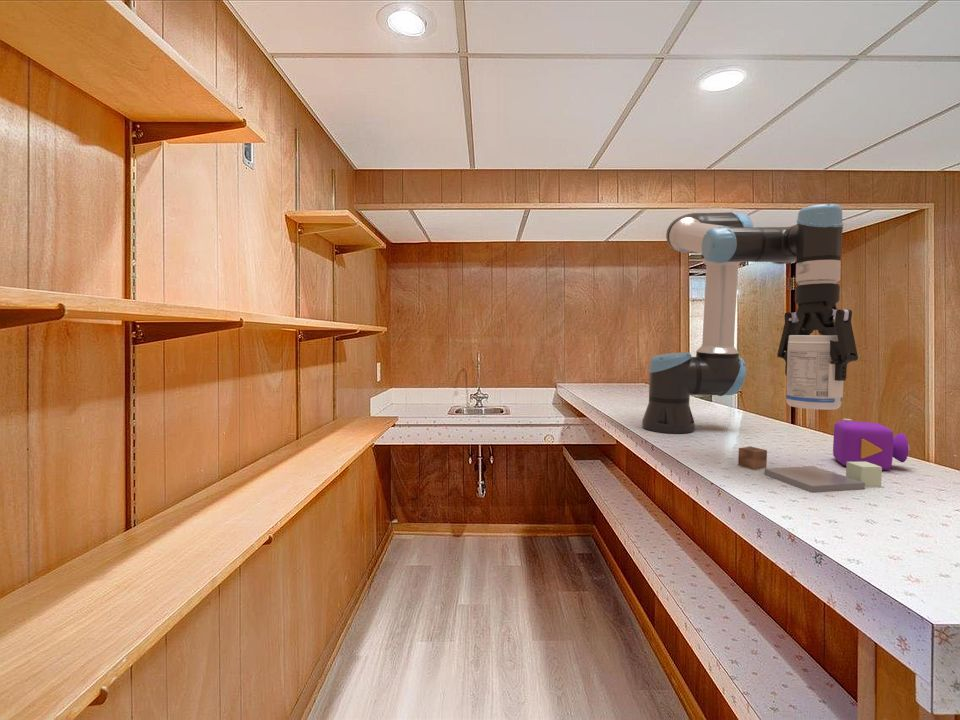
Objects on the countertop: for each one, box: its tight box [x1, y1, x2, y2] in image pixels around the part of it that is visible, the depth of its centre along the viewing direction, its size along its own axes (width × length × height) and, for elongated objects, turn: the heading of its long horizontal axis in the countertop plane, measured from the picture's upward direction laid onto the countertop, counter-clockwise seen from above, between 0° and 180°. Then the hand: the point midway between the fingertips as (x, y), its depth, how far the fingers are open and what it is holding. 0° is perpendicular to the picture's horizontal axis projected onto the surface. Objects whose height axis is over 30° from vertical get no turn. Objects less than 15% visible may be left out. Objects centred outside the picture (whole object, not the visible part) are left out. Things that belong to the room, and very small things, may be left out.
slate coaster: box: [763, 465, 866, 493], centre depth 102 cm, size 12×12×1 cm
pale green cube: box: [845, 462, 883, 488], centre depth 101 cm, size 4×4×4 cm
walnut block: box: [737, 445, 768, 471], centre depth 113 cm, size 4×4×4 cm
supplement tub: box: [785, 334, 843, 411], centre depth 103 cm, size 10×10×15 cm
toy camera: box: [832, 418, 910, 471], centre depth 114 cm, size 11×14×10 cm
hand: (813, 394), depth 103 cm, fingers closed on supplement tub, 9 cm apart
